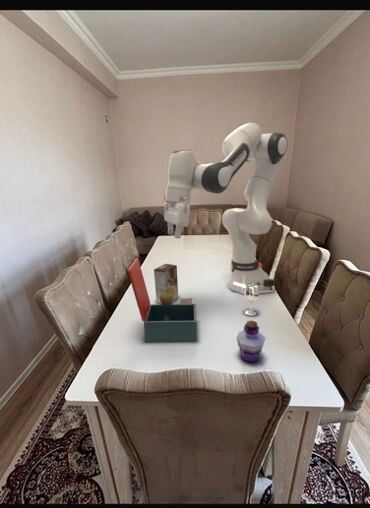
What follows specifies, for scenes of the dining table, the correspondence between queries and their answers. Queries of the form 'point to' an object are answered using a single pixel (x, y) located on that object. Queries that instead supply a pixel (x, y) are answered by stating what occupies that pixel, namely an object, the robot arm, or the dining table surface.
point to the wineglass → (251, 296)
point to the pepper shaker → (166, 301)
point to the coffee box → (166, 281)
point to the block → (185, 300)
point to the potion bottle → (250, 342)
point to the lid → (139, 288)
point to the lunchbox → (171, 323)
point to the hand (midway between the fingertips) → (173, 236)
